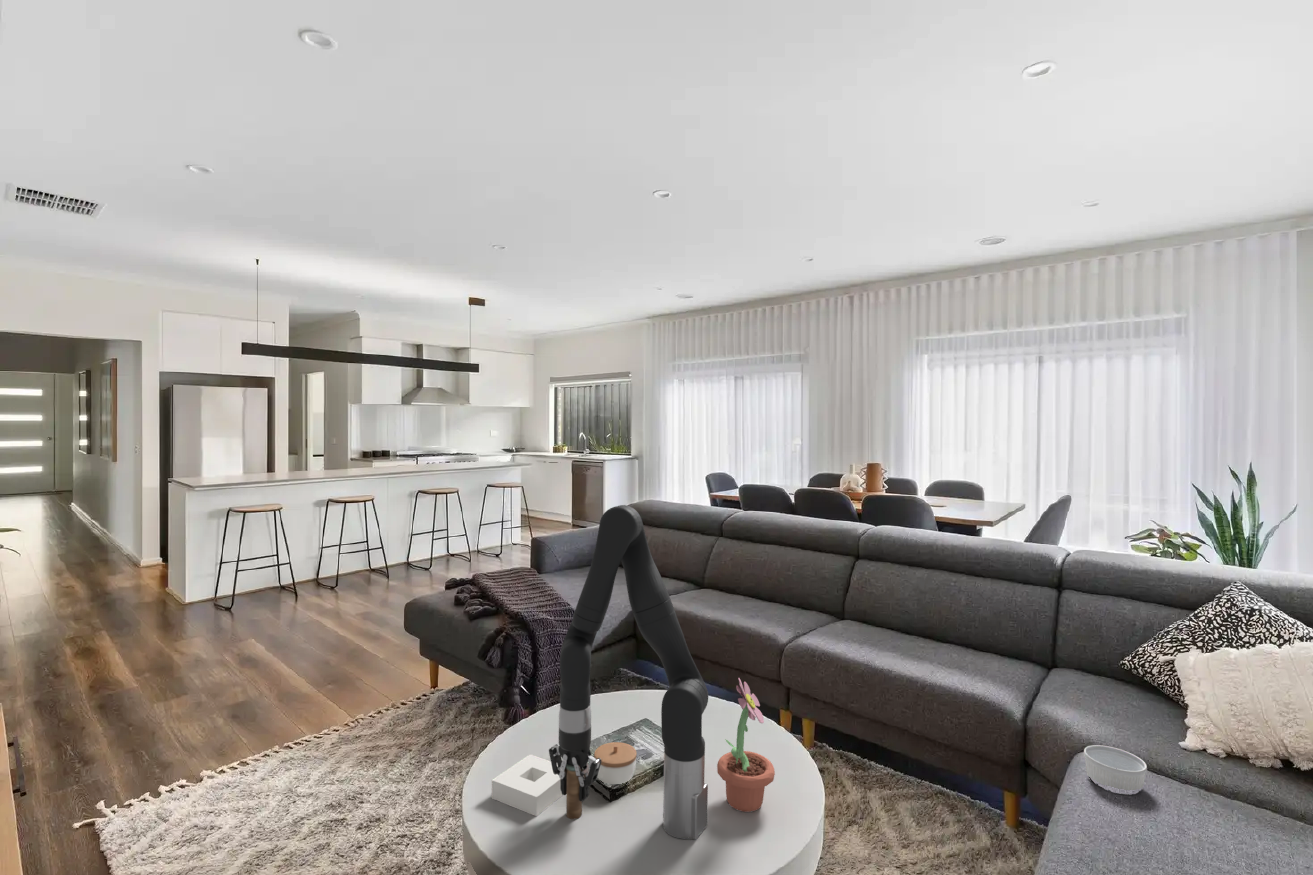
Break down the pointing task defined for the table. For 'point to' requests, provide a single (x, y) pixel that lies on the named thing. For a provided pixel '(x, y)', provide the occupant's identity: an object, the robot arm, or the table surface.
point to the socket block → (528, 785)
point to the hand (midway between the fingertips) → (574, 796)
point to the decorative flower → (745, 762)
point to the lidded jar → (616, 762)
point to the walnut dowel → (573, 794)
